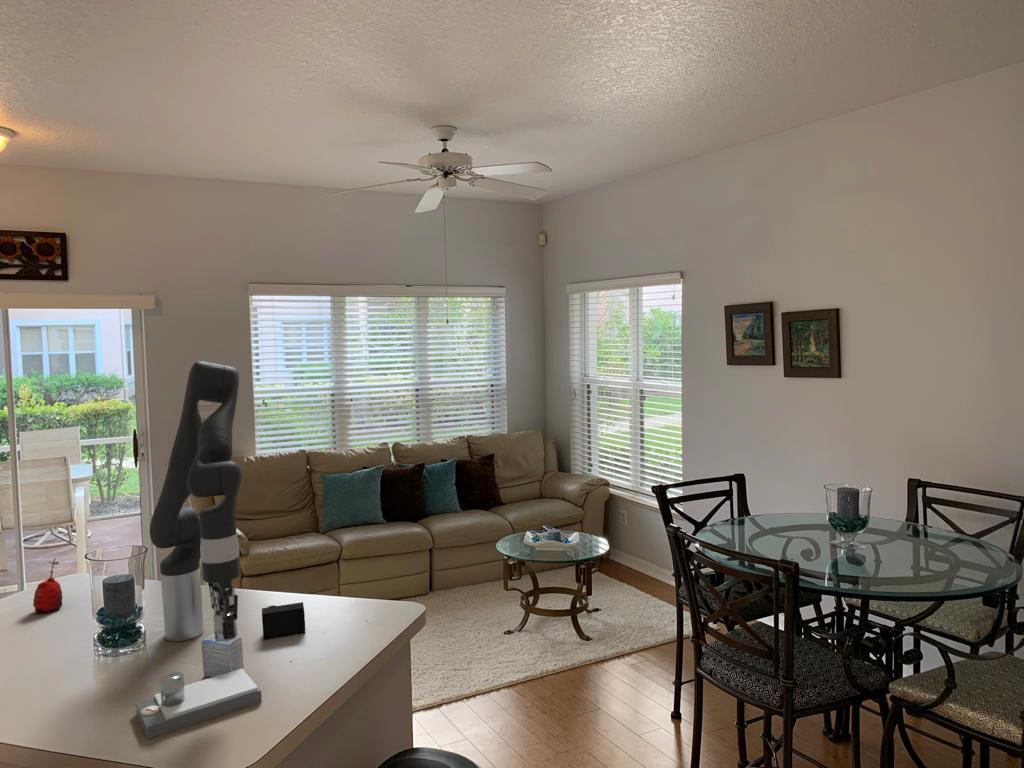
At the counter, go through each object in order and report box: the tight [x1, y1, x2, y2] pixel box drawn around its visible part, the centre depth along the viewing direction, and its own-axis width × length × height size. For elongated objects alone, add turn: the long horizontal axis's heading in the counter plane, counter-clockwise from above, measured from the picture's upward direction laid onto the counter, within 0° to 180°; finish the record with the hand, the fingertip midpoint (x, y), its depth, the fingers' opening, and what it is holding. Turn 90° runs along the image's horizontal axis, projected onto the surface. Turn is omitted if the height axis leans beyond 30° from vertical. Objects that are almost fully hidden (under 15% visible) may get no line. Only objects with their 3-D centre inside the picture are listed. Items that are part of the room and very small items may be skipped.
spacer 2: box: [213, 612, 238, 642], centre depth 154 cm, size 4×4×5 cm
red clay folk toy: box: [32, 558, 63, 615], centre depth 209 cm, size 8×7×15 cm
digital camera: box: [261, 601, 306, 641], centre depth 188 cm, size 10×5×7 cm, turn 109°
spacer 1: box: [159, 671, 185, 706], centre depth 148 cm, size 4×4×5 cm
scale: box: [135, 668, 263, 740], centre depth 152 cm, size 12×22×3 cm, turn 126°
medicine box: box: [200, 632, 245, 678], centre depth 166 cm, size 8×4×9 cm, turn 71°
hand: (225, 633), depth 154 cm, fingers closed on spacer 2, 4 cm apart
